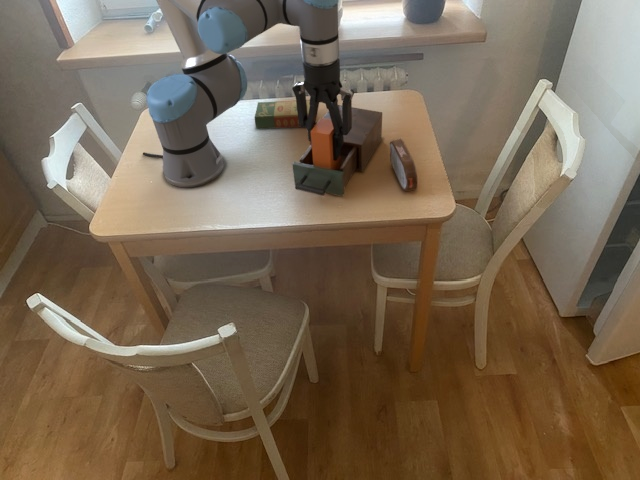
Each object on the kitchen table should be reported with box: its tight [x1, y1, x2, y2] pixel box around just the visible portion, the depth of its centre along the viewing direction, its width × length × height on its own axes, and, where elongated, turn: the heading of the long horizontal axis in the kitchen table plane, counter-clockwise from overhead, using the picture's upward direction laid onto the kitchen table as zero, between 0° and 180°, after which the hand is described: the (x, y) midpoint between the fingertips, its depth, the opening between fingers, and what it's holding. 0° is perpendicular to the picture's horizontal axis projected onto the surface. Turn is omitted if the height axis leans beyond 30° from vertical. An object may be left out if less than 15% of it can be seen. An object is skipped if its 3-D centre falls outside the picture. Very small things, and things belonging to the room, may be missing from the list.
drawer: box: [292, 144, 359, 197], centre depth 113 cm, size 19×12×6 cm, turn 156°
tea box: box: [311, 117, 341, 171], centre depth 111 cm, size 6×4×13 cm
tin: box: [389, 138, 418, 192], centre depth 112 cm, size 15×3×8 cm, turn 9°
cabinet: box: [309, 104, 383, 173], centre depth 122 cm, size 16×14×8 cm
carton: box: [254, 99, 310, 130], centre depth 136 cm, size 8×16×4 cm, turn 89°
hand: (326, 154), depth 112 cm, fingers closed on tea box, 4 cm apart
